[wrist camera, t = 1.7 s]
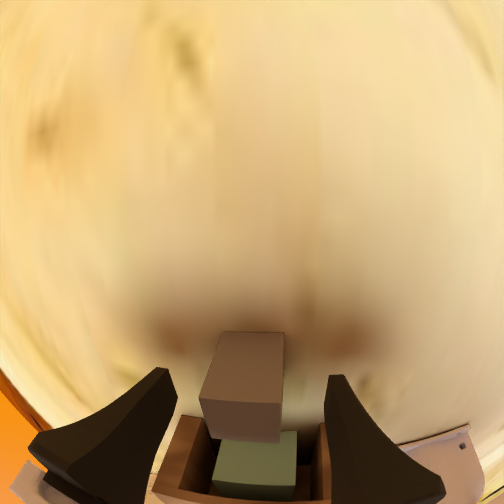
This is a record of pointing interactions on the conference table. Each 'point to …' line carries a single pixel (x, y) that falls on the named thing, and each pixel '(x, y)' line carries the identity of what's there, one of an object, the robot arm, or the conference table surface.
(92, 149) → the conference table surface
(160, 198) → the conference table surface
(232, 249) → the conference table surface
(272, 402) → the block with rod
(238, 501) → the walnut cubby
